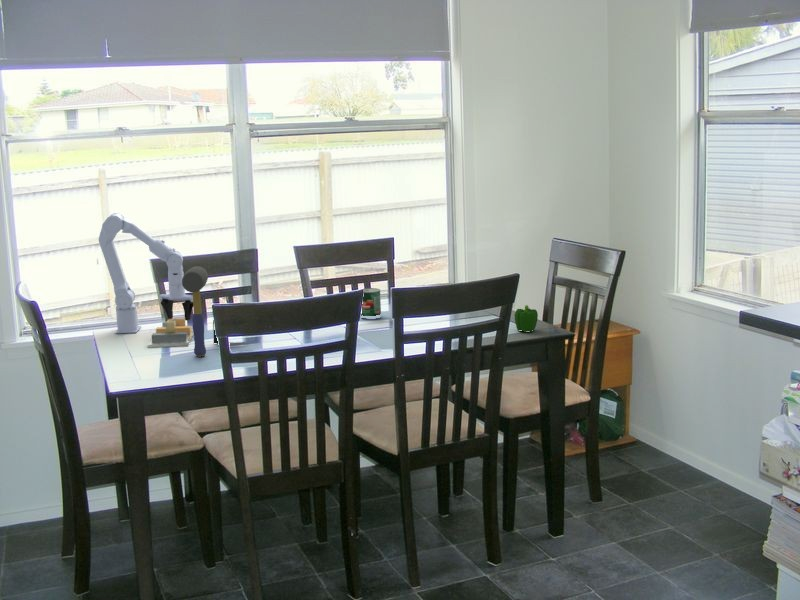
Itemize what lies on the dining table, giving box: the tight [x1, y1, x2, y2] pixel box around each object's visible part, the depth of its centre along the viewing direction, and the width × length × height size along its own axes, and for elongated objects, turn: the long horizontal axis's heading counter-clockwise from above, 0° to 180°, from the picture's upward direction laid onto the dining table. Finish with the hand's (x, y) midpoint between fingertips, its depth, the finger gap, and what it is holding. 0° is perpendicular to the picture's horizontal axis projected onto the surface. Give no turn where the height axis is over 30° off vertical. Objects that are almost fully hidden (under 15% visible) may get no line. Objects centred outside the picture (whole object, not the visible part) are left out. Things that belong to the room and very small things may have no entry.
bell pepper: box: [514, 304, 539, 332], centre depth 333 cm, size 8×8×10 cm
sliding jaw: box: [155, 317, 192, 334], centre depth 341 cm, size 10×12×4 cm
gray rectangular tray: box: [147, 327, 194, 349], centre depth 335 cm, size 24×14×4 cm, turn 5°
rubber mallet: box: [182, 265, 209, 358], centre depth 307 cm, size 12×8×30 cm, turn 3°
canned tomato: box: [360, 287, 382, 317], centre depth 361 cm, size 8×8×11 cm
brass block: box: [164, 319, 176, 333], centre depth 332 cm, size 4×3×6 cm
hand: (179, 319), depth 351 cm, fingers open, 7 cm apart
